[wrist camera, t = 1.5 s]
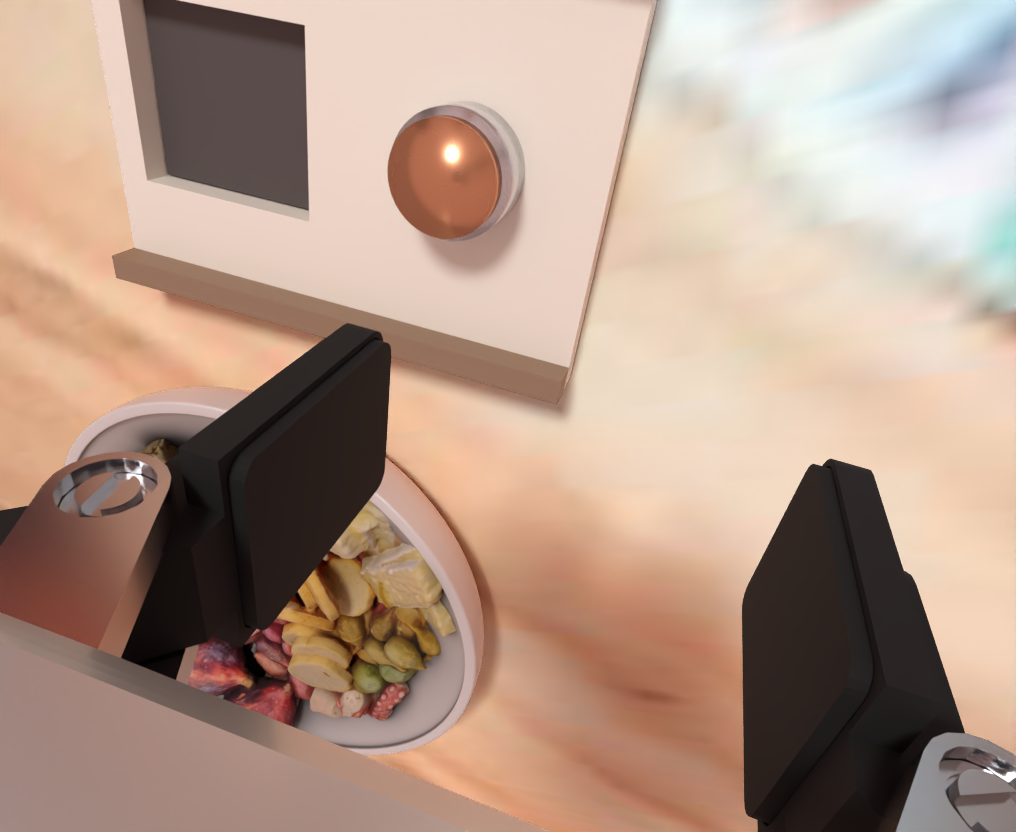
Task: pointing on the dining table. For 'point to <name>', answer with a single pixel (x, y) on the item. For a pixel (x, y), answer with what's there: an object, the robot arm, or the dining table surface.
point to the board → (371, 165)
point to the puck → (456, 170)
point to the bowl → (337, 605)
